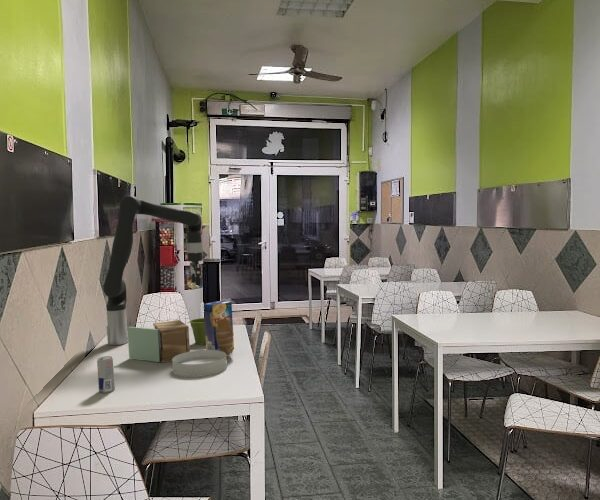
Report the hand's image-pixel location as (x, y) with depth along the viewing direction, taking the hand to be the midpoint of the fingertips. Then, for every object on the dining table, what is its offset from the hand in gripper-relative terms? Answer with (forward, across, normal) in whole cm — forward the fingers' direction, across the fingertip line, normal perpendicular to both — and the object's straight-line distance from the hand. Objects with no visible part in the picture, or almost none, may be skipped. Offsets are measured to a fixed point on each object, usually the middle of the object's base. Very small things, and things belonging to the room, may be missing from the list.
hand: (195, 283), depth 258 cm
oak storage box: (+29, +25, -18) cm, 42 cm away
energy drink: (+29, +62, -48) cm, 83 cm away
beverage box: (+29, +28, +4) cm, 40 cm away
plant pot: (+29, +9, 0) cm, 30 cm away
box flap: (+29, +27, -29) cm, 49 cm away
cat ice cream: (+28, +40, +3) cm, 49 cm away
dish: (+29, +52, -11) cm, 61 cm away
